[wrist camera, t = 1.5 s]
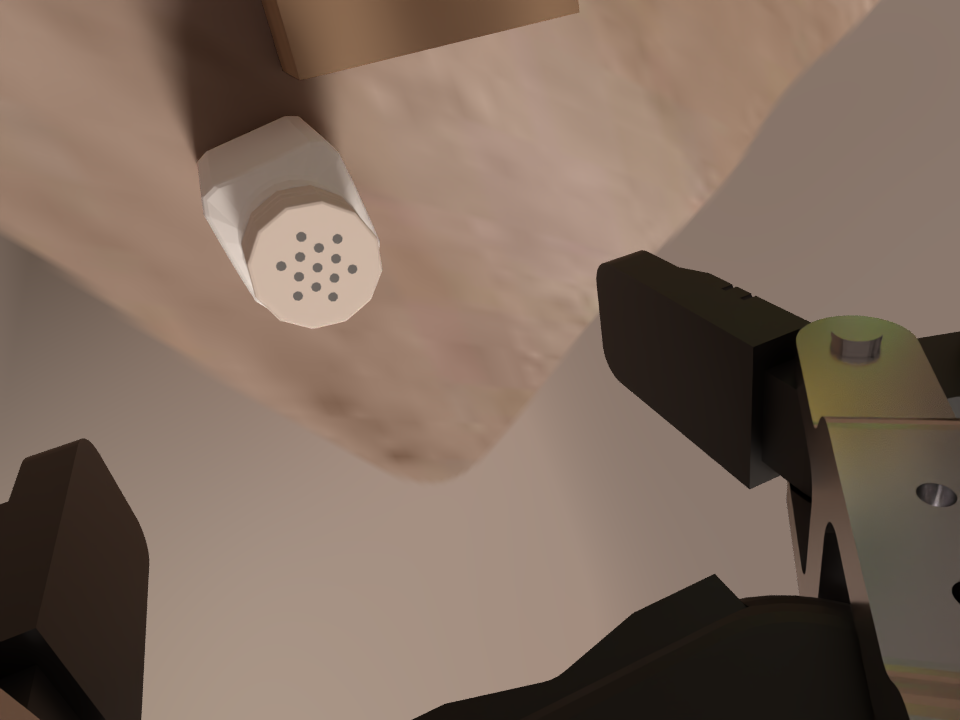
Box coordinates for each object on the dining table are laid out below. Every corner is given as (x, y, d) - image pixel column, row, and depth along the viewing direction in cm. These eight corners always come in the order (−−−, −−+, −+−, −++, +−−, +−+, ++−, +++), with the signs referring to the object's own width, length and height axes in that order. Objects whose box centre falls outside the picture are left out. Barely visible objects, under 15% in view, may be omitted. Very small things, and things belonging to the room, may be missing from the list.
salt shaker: (188, 155, 23) (193, 230, 15) (298, 106, 24) (357, 153, 16) (249, 259, 25) (281, 371, 17) (348, 211, 26) (423, 299, 18)
